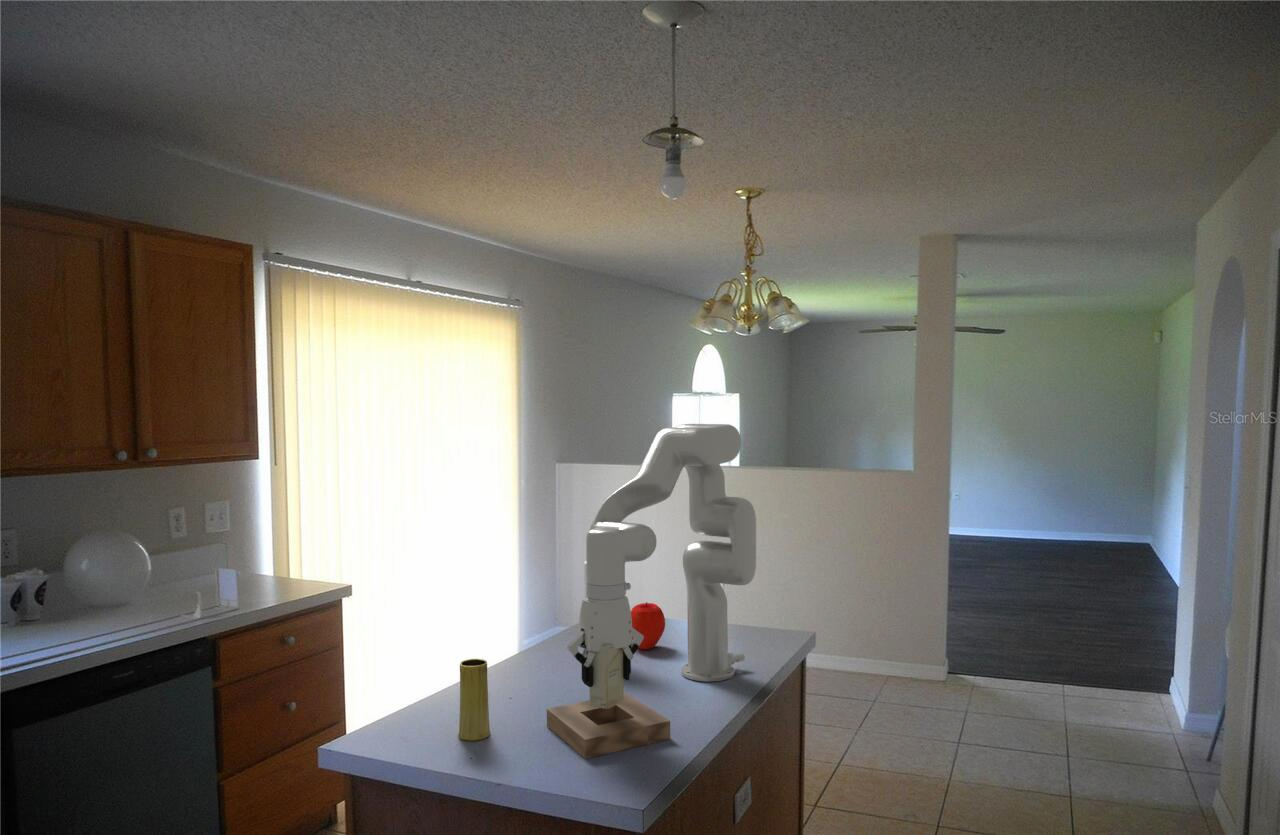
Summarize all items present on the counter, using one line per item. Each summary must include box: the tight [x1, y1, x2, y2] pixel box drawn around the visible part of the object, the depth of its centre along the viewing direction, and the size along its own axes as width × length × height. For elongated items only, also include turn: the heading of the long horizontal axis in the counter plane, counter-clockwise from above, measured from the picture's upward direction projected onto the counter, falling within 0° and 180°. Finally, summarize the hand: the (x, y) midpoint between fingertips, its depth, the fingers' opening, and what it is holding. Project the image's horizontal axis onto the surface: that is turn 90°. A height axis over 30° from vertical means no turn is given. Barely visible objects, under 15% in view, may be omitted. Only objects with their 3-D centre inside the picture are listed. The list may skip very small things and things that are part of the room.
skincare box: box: [589, 644, 625, 709], centre depth 165 cm, size 6×4×12 cm
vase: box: [457, 658, 491, 742], centre depth 164 cm, size 6×6×14 cm
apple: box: [630, 601, 666, 651], centre depth 222 cm, size 10×10×12 cm
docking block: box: [546, 693, 671, 760], centre depth 165 cm, size 18×18×4 cm
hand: (606, 681), depth 165 cm, fingers closed on skincare box, 7 cm apart
